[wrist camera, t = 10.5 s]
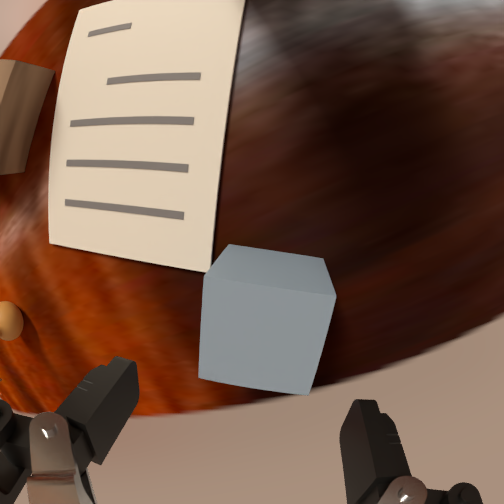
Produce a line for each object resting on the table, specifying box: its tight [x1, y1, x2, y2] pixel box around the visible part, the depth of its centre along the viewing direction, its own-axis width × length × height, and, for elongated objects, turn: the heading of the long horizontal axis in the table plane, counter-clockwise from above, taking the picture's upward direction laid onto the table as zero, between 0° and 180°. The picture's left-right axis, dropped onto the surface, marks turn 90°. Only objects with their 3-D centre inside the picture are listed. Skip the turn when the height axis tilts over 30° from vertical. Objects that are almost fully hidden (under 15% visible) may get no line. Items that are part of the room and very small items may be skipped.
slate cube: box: [199, 244, 336, 395], centre depth 17 cm, size 6×6×6 cm
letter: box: [48, 0, 246, 272], centre depth 17 cm, size 14×20×1 cm
